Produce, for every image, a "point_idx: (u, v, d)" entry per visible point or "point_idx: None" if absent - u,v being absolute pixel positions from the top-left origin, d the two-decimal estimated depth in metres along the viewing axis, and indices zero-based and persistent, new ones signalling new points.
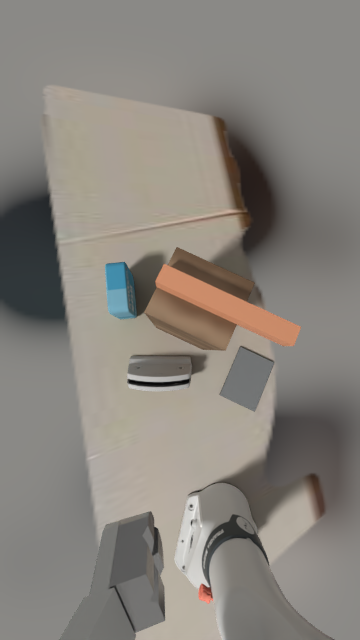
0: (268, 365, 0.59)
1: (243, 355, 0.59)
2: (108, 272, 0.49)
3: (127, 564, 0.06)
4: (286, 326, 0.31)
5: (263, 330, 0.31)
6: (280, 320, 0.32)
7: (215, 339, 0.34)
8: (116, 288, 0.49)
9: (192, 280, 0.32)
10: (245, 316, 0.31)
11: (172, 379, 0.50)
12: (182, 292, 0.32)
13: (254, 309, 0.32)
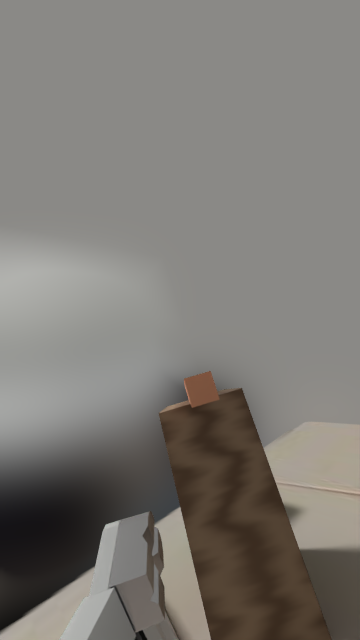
0: None
1: None
2: None
3: (127, 564, 0.06)
4: None
5: None
6: None
7: (166, 410, 0.32)
8: None
9: None
10: None
11: None
12: None
13: None
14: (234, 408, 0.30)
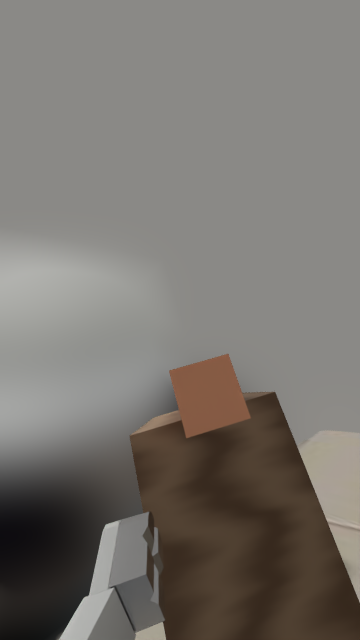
0: None
1: None
2: None
3: (127, 564, 0.06)
4: None
5: None
6: None
7: (145, 428, 0.19)
8: None
9: None
10: None
11: None
12: None
13: None
14: (263, 427, 0.17)
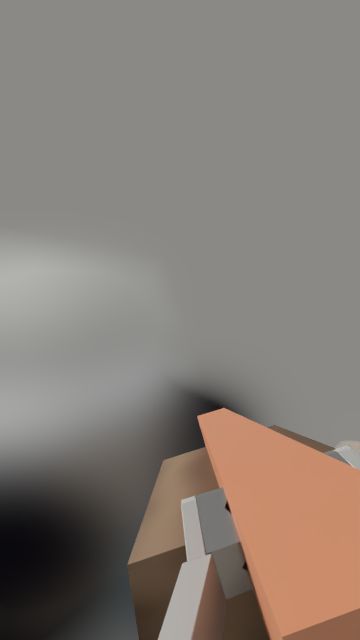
0: None
1: None
2: None
3: (218, 533, 0.06)
4: (342, 493, 0.04)
5: (225, 473, 0.07)
6: (327, 467, 0.05)
7: (156, 526, 0.11)
8: None
9: (227, 413, 0.19)
10: (229, 443, 0.10)
11: None
12: (201, 420, 0.19)
13: (265, 437, 0.09)
14: None
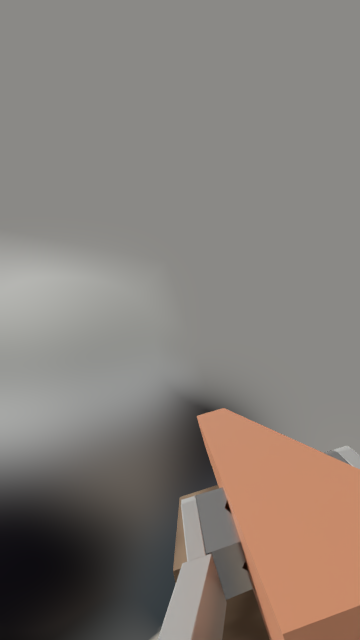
0: None
1: None
2: None
3: (218, 533, 0.06)
4: (341, 492, 0.04)
5: (224, 472, 0.07)
6: (327, 466, 0.05)
7: (183, 550, 0.20)
8: None
9: (226, 413, 0.19)
10: (229, 443, 0.10)
11: None
12: (201, 420, 0.19)
13: (265, 437, 0.09)
14: None
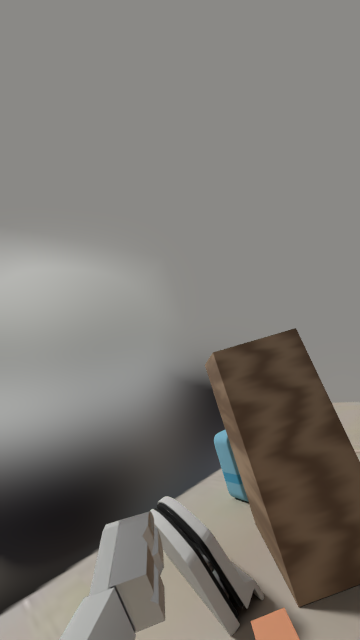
0: None
1: None
2: None
3: (127, 564, 0.06)
4: None
5: None
6: None
7: None
8: None
9: None
10: None
11: (183, 513, 0.27)
12: None
13: None
14: (289, 347, 0.29)
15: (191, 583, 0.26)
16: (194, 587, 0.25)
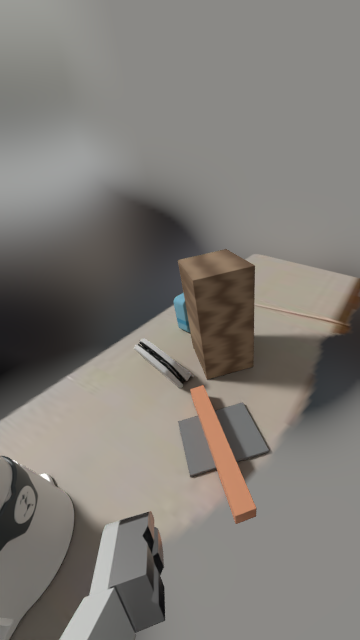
0: (258, 446, 0.38)
1: (238, 411, 0.44)
2: None
3: (127, 564, 0.06)
4: (243, 493, 0.30)
5: (222, 475, 0.33)
6: (242, 483, 0.31)
7: (194, 275, 0.41)
8: None
9: (208, 404, 0.43)
10: (218, 452, 0.35)
11: (160, 353, 0.51)
12: (197, 405, 0.43)
13: (229, 455, 0.35)
14: (245, 279, 0.41)
15: None
16: (163, 374, 0.55)
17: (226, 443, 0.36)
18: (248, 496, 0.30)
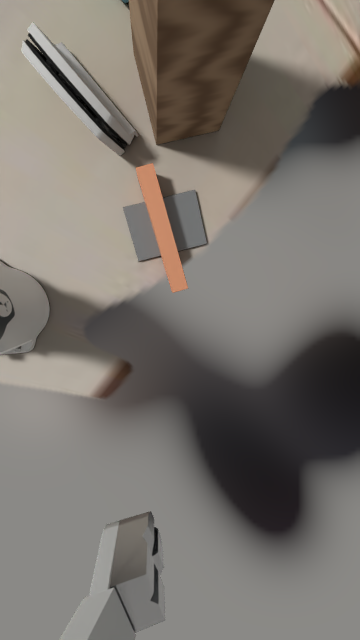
0: (199, 239, 0.43)
1: (188, 201, 0.41)
2: None
3: (127, 564, 0.06)
4: (180, 279, 0.41)
5: (166, 267, 0.40)
6: (181, 272, 0.41)
7: None
8: None
9: (158, 194, 0.38)
10: (165, 249, 0.40)
11: (84, 92, 0.30)
12: (145, 194, 0.38)
13: (174, 251, 0.40)
14: None
15: None
16: None
17: (173, 241, 0.40)
18: (184, 281, 0.41)
